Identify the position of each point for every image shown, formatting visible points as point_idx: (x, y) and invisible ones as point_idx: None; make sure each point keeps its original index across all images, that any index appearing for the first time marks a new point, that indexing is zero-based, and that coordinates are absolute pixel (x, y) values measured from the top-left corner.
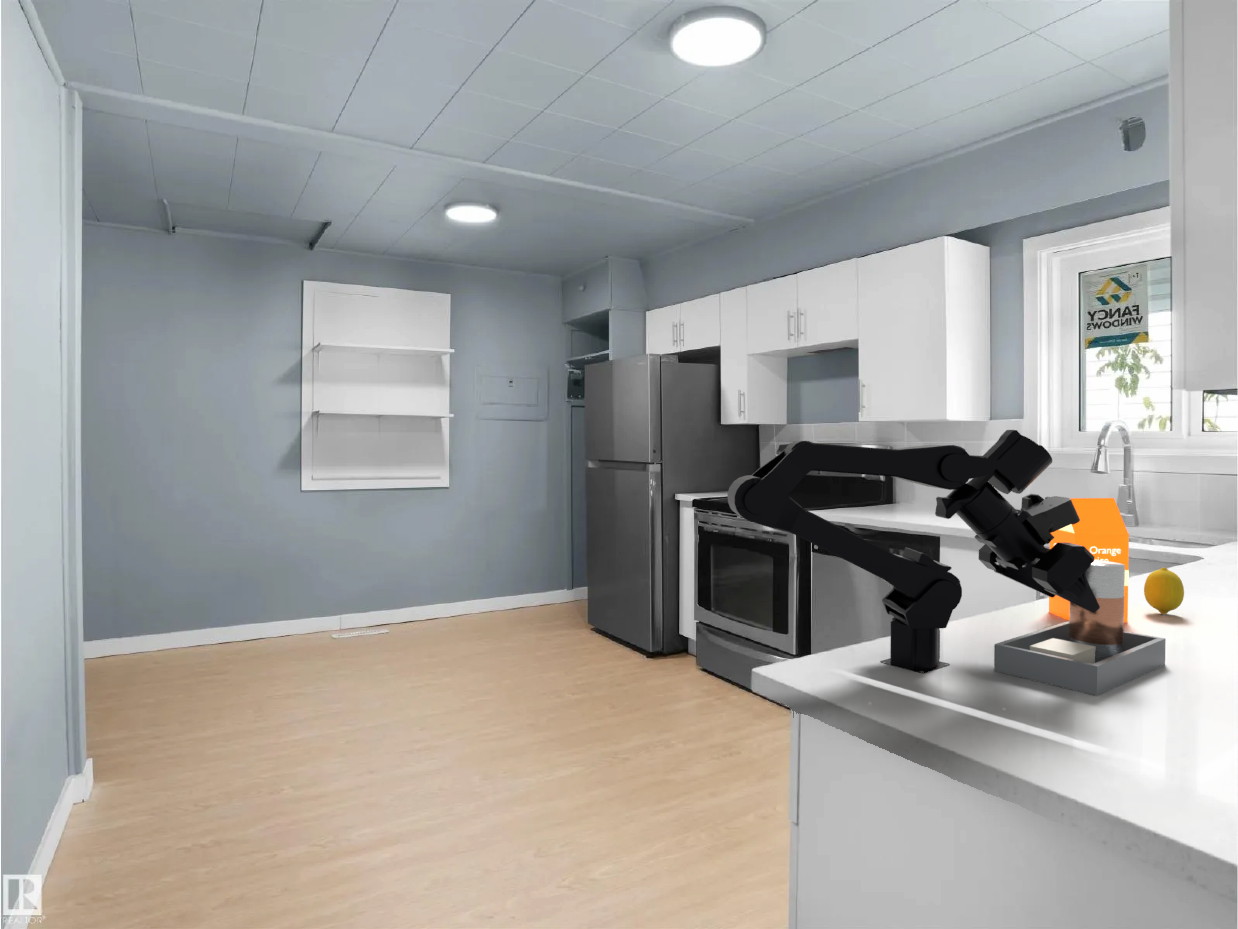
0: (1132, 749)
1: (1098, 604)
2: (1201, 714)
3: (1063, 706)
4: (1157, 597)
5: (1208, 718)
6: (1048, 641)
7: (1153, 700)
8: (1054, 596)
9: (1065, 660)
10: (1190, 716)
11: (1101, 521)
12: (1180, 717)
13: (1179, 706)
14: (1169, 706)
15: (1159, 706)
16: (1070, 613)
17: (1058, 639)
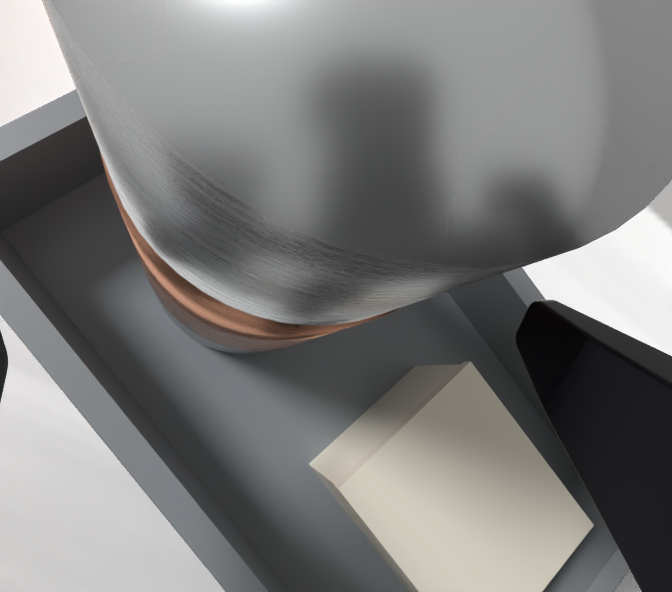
0: None
1: (574, 311)
2: (641, 255)
3: (635, 587)
4: None
5: (661, 259)
6: (401, 541)
7: (564, 303)
8: (4, 345)
9: (622, 571)
10: (656, 291)
11: None
12: (664, 319)
13: (598, 268)
14: (601, 293)
15: (604, 318)
16: (245, 338)
17: (364, 472)
